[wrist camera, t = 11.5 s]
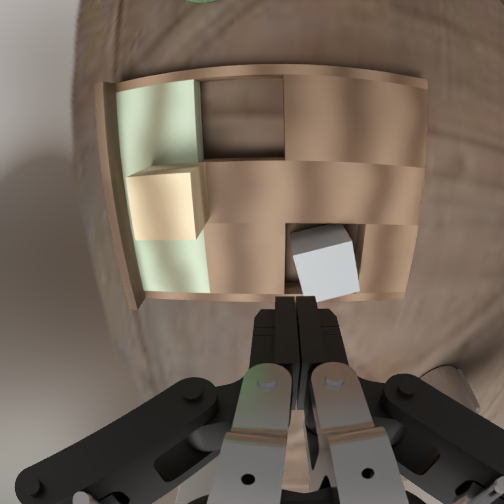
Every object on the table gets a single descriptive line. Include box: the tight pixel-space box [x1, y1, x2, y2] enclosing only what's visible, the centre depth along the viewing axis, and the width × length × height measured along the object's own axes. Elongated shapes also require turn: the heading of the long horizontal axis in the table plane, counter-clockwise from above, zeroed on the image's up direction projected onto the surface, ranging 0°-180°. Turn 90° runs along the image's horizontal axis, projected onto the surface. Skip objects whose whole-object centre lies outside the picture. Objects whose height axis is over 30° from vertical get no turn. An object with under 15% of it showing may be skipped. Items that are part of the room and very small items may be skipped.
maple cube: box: [126, 162, 210, 240], centre depth 26 cm, size 6×6×6 cm
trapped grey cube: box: [290, 223, 360, 302], centre depth 30 cm, size 6×6×6 cm
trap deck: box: [94, 64, 428, 310], centre depth 28 cm, size 31×24×5 cm
